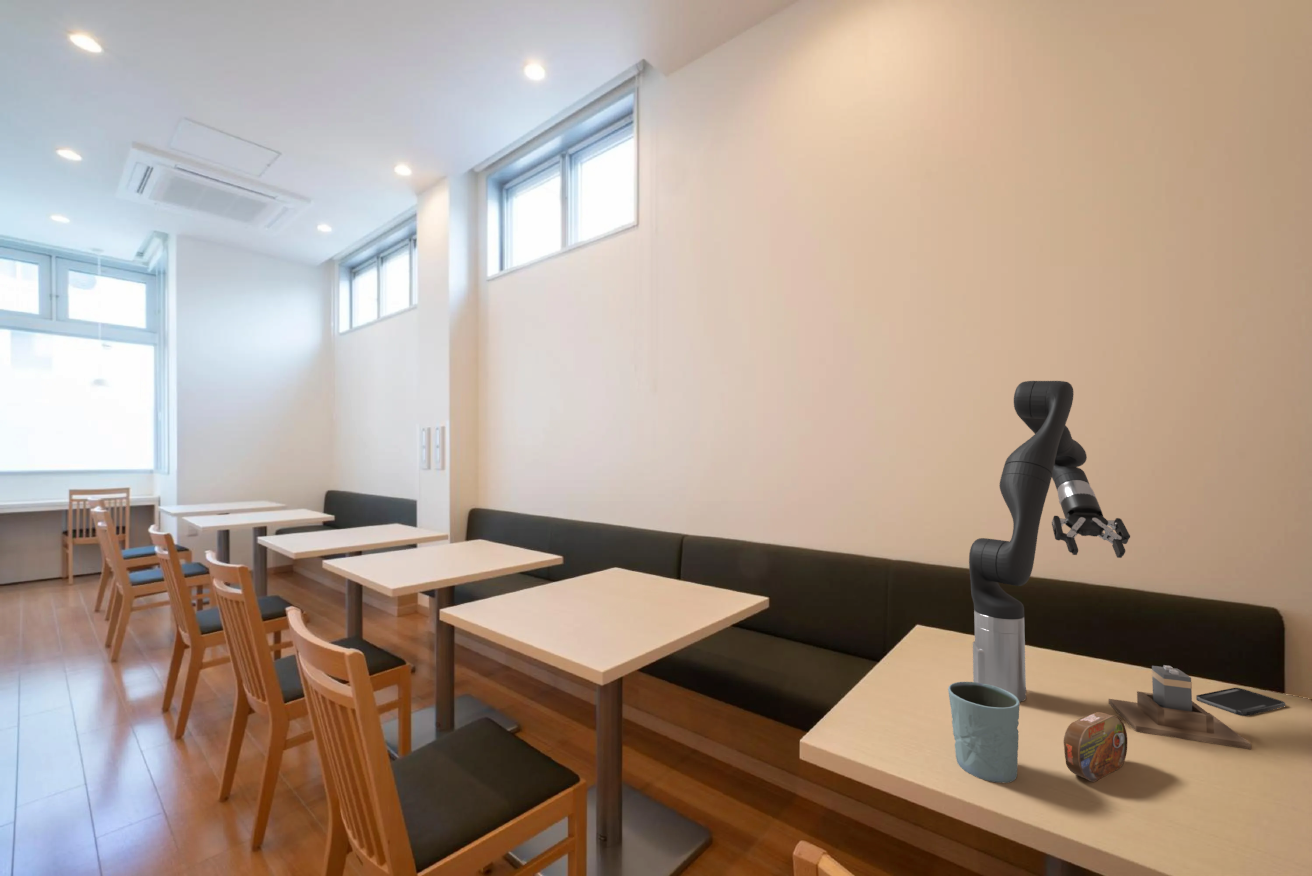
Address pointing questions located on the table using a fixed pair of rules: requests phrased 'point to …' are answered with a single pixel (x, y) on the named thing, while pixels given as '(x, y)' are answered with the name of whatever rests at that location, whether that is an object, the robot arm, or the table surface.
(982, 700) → the teal embossed cup
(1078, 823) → the table surface
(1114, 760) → the tin
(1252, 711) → the phone
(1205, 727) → the dock
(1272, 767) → the table surface
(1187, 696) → the cell
